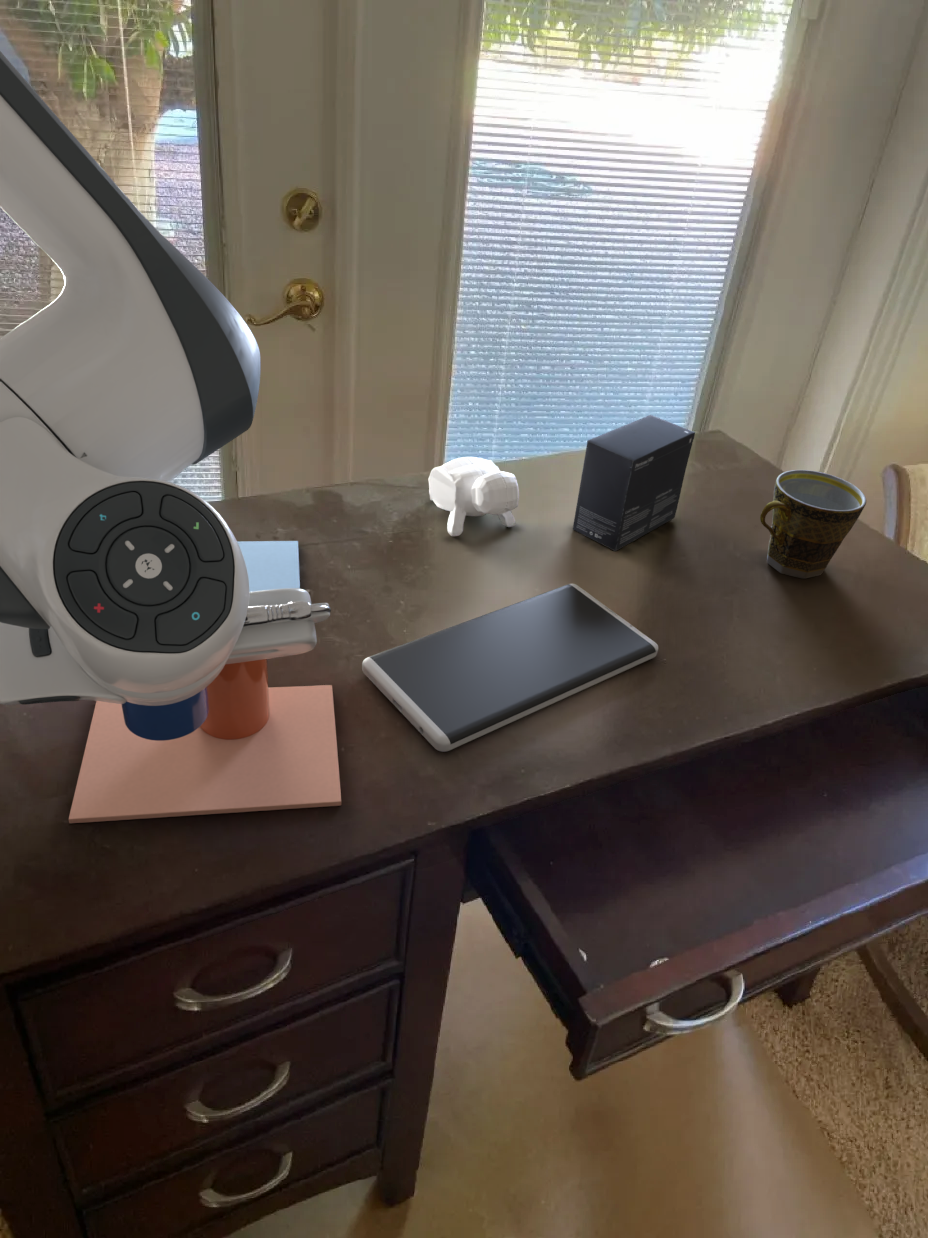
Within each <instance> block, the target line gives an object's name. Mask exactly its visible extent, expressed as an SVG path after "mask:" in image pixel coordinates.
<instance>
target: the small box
mask: <svg viewBox="0 0 928 1238" xmlns="http://www.w3.org/2000/svg"><path fill="white" fill-rule="evenodd" d="M695 436H696V431H693V430H690V429H688V428H686V427H684V426H680V425H678V424H676V423H673V422H671V421H668V420H666V419H662V418H660V417H658V416H655V415H652V414H648V415H646V416H644V417H642V418H640V419H636V420H634V421H631V422H629V423H626V424H624V425H623V426H619V427H617V428H615V429H612V430H610V431H607V432H605V433H602V434H599V435H598V436H595V437H593V438H590V439H588V440H587V441H586V447H585V454H584V459H583V466H582V470H581V477H580V482H579V483H580V484H579V490H578V494H577V495H578V496H577V502H576V507H575V514H574V518H573V525H572V530H574V531H575V532H576V533H579V534H581V535H583V536H585V537H587V538H589V539H591V540H593V541H594V542H597V543H599V544H601V545H602V546H604V547H606V548H608V549H610V550H612V551H614V552H616V551H619V550H620V549H622V548H624V547H625V546H628V545H629V544H632V543H633V542H634V541H636V540H638V539H640V538H641V537H643V536H645V535H647V534H648V533H651V532H652V531H654V530H656V529H657V528H659V527H661V526H663V525H664V524H666V523H668V522H670V521H672V520H673V519H675V518H676V513H677V510H678V505H679V502H680V497H681V492H682V487H683V483H684V480H685V474H686V472H687V471H686V470H687V467H688V463H689V458H690V455H691V451H692V447H693V443H694V440H695Z"/></svg>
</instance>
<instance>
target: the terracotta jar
mask: <svg viewBox="0 0 928 1238" xmlns="http://www.w3.org/2000/svg"><path fill="white" fill-rule="evenodd" d="M268 670H269V669H268V659H262V660H255V661H247V662H240V663H233V664H225V666H224V667H223V669H222V671H221V672H220V673H219V675H218V676H217V677H216V678H215V679H214V681H213V682H211V683H210V684H209V685H208V686H207V691H208V702H209V713H208V716H207V718H206V720H205V722H204V723H203V724H202V725H201V726H200V727H201V729H202V730H203V731H204V732H205V733H207V734H208V735H210V736H213V737H215V738H219V739H226V740H234V739H241V738H245V737H248V736H251V735H253V734H255V733H257V732H258V731H260V730H261V729H262V728H263V727H264V726H265V725H266V723H267V721H268V720H269V716H270V707H269V688H270V687H269V671H268Z"/></svg>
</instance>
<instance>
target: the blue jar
mask: <svg viewBox="0 0 928 1238" xmlns="http://www.w3.org/2000/svg"><path fill="white" fill-rule="evenodd" d="M121 706H122V712H123V718H124V722H125V725H126V726H127V728H128V729H129V730H130V731H131V732H132V733H133V734H135V735H137V736H139V737H141V738H144V739H148V740H156V741H165V740H172V739H177V738H180V737H183V736H186V735H188V734H190V733H192V732H193V731H195V730H196V729H198V728H199V727H200V726H201V725H202V724H203V723H204V722H205V720H206V718H207V716H208V713H209V702H208V691H207V687H206V688H205V689H203V690H202V691H200V692H199V693H197V694H196V695H194V696H192V697H190V698H188V699H185V700H183V701H180V702H177V703H173V704H168V705H160V706H146V705H138V704H134V703H130V702H127V701H126V703H124V704H121Z"/></svg>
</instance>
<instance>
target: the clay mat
mask: <svg viewBox="0 0 928 1238" xmlns="http://www.w3.org/2000/svg"><path fill="white" fill-rule="evenodd" d="M333 692H334V690H333V684H325V685H324V684H323V685H322V684H321V685H305V686H304V685H300V686H299V685H298V686H275V687H273V686H272V687H269V707H270V716H269V720H268V721H267V723H266V725H265V726H264V727H263V728H262V729H261V730H260V731H258V732H257V733H255V734H253V735H251V736H248V737H245V738H241V739H234V740H226V739H219V738H215V737H213V736H210V735H208V734H207V733H205V732H204V731H203V730H202V729H201V727H199V728H198V729H196V730H195V731H193V732H192V733H190V734H188V735H186V736H183V737H180V738H177V739H172V740H165V741H156V740H148V739H144V738H141V737H139V736H137V735H135V734H133V733H132V732H131V731H130V730H129V729H128V728H127V726H126V725H125V722H124V718H123V712H122V706H121V704H116V703H109V702H102V701H95V706H94V709H93V714H92V718H91V721H90V727H89V731H88V736H87V739H86V743H85V746H84V747H85V748H84V752H83V756H82V760H81V765H80V768H79V773H78V778H77V781H76V786H75V790H74V794H73V798H72V803H71V806H70V811H69V816H68V823H69V824H83V823H85V824H86V823H95V822H96V823H99V822H113V821H127V820H128V821H129V820H145V819H159V818H172V817H173V818H174V817H175V818H176V817H188V816H205V815H217V814H218V815H219V814H234V813H248V812H249V813H250V812H263V811H264V812H265V811H278V810H279V811H280V810H295V809H296V810H297V809H308V808H310V809H311V808H323V807H338V806H342V793H341V791H342V790H341V778H340V767H339V756H338V755H339V754H338V741H337V728H336V716H335V704H334V703H335V702H334V693H333Z"/></svg>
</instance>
